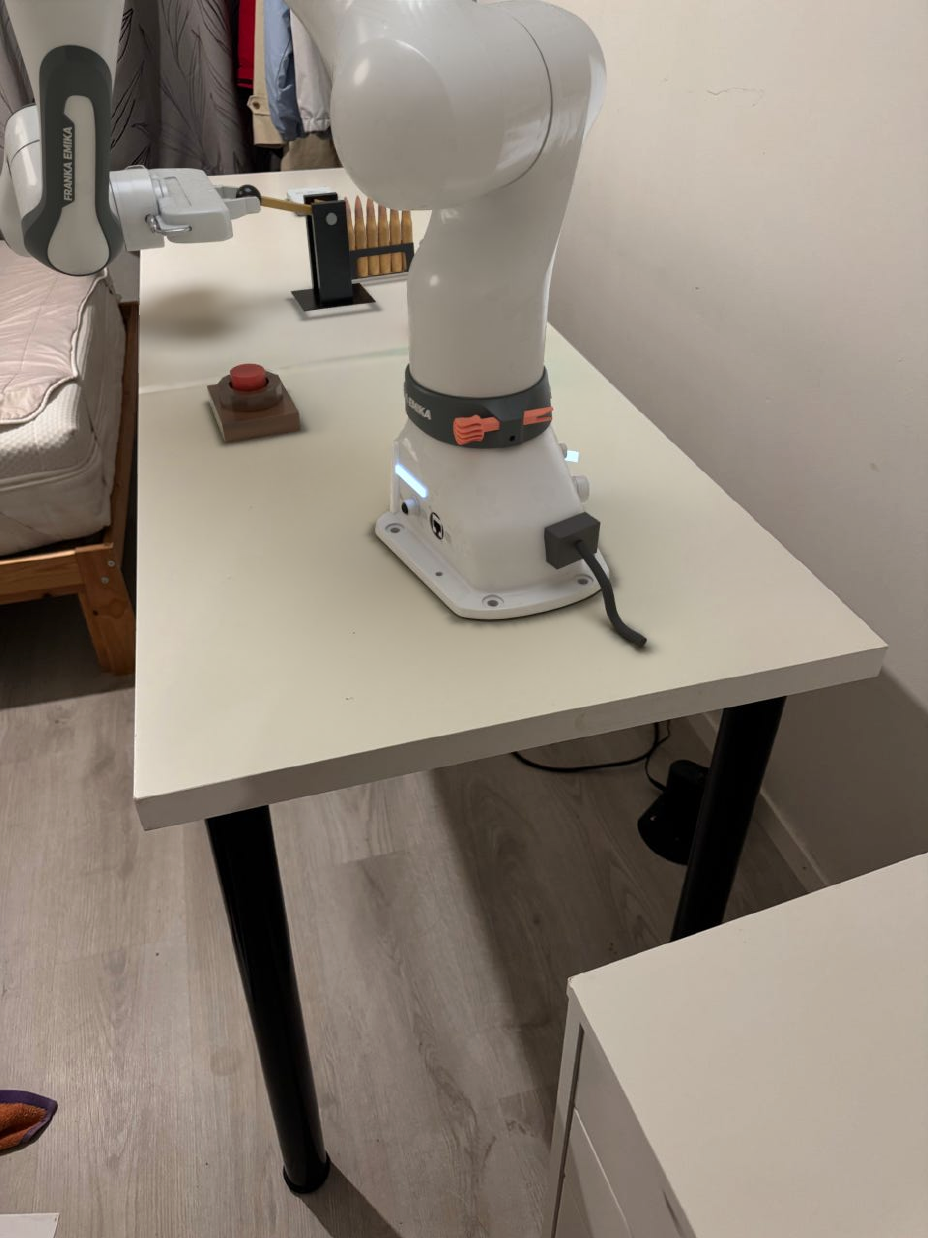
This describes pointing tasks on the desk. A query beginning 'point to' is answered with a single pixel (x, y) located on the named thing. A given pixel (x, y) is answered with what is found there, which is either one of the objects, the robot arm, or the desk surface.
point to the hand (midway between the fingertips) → (255, 198)
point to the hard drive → (297, 194)
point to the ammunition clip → (379, 241)
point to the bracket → (329, 257)
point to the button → (248, 377)
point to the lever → (274, 201)
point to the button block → (253, 409)
